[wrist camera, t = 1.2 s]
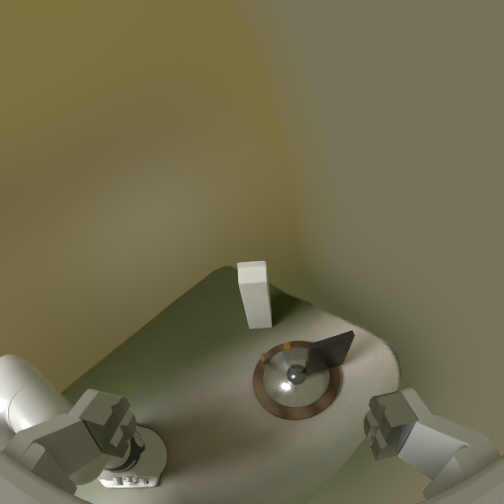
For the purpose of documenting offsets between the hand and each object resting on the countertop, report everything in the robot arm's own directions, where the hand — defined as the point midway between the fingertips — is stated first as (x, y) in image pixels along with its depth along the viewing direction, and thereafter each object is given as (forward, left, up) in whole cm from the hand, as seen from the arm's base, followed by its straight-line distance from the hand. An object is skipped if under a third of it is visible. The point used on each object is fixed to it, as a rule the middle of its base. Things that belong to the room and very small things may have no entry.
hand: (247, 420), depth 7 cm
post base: (+13, +15, -53) cm, 57 cm away
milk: (+15, +35, -53) cm, 66 cm away
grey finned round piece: (+15, +15, -51) cm, 56 cm away
